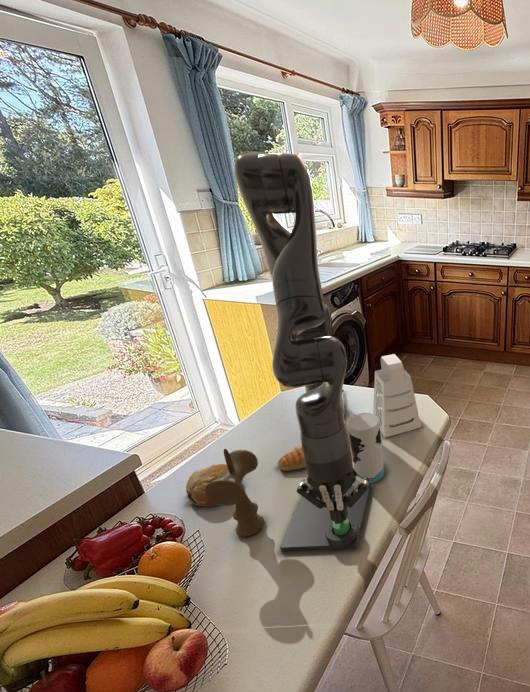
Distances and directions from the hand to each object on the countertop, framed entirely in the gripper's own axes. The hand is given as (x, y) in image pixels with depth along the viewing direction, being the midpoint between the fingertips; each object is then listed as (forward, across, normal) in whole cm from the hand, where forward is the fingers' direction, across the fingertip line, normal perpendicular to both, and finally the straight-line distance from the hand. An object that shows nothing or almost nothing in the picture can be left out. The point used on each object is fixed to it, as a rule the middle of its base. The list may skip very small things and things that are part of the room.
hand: (340, 520), depth 77 cm
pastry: (+5, +15, -24) cm, 28 cm away
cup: (+5, -2, -19) cm, 19 cm away
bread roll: (+5, +31, -15) cm, 35 cm away
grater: (+5, -6, -40) cm, 40 cm away
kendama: (+5, +19, -4) cm, 20 cm away
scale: (+5, +4, -6) cm, 9 cm away
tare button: (+3, 0, 0) cm, 3 cm away
